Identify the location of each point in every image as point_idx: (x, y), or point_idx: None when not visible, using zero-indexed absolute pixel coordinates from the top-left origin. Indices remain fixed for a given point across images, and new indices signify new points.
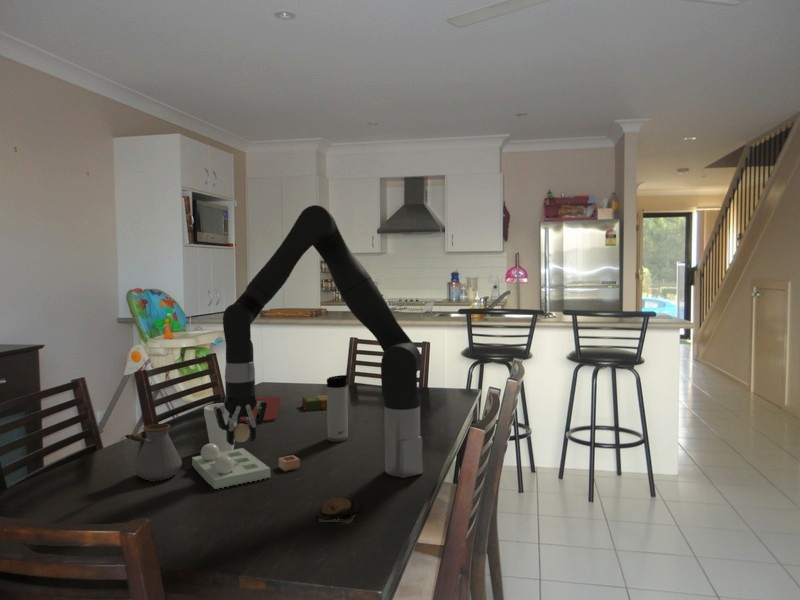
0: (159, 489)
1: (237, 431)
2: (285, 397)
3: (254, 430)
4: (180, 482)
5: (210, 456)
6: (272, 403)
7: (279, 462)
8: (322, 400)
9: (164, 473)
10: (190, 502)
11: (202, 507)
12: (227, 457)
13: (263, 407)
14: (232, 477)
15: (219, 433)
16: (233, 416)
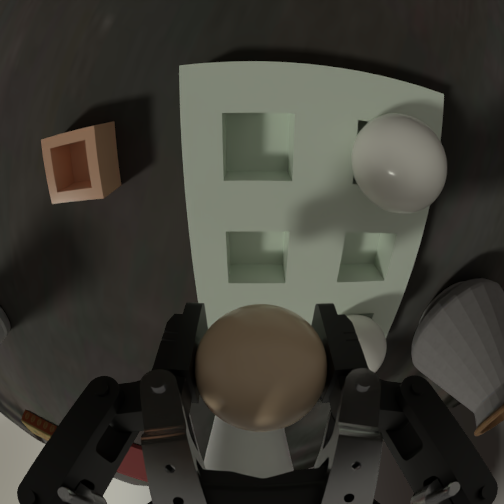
0: (495, 221)
1: (311, 360)
2: None
3: (164, 356)
4: (453, 239)
5: (367, 321)
6: (121, 466)
7: (110, 184)
8: (50, 436)
9: (480, 279)
10: (486, 66)
11: (468, 11)
12: (415, 149)
13: (45, 483)
14: (376, 75)
15: (266, 435)
16: (374, 479)
